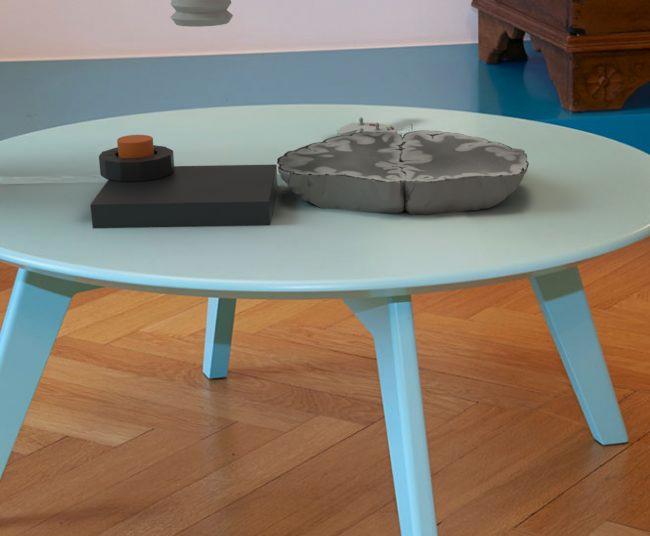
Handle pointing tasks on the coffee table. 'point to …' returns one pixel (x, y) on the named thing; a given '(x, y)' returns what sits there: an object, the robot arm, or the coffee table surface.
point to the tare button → (135, 146)
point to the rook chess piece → (201, 12)
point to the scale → (181, 193)
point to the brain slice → (404, 172)
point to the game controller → (366, 128)
